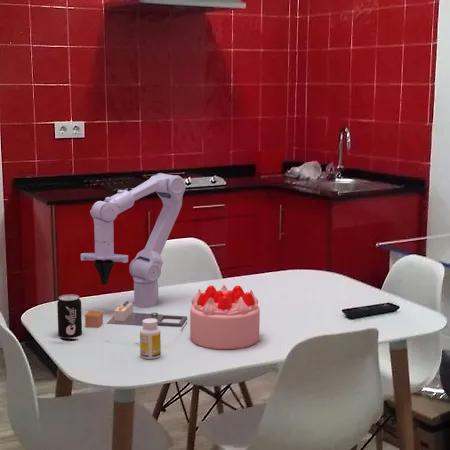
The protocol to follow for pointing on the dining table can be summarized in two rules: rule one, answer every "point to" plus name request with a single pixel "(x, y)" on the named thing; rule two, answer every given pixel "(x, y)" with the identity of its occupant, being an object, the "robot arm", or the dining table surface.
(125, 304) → the block
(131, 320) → the panel
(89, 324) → the copper lidded box
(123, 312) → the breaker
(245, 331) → the cake
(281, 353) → the dining table surface
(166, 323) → the socket
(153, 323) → the supplement bottle
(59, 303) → the beverage can
